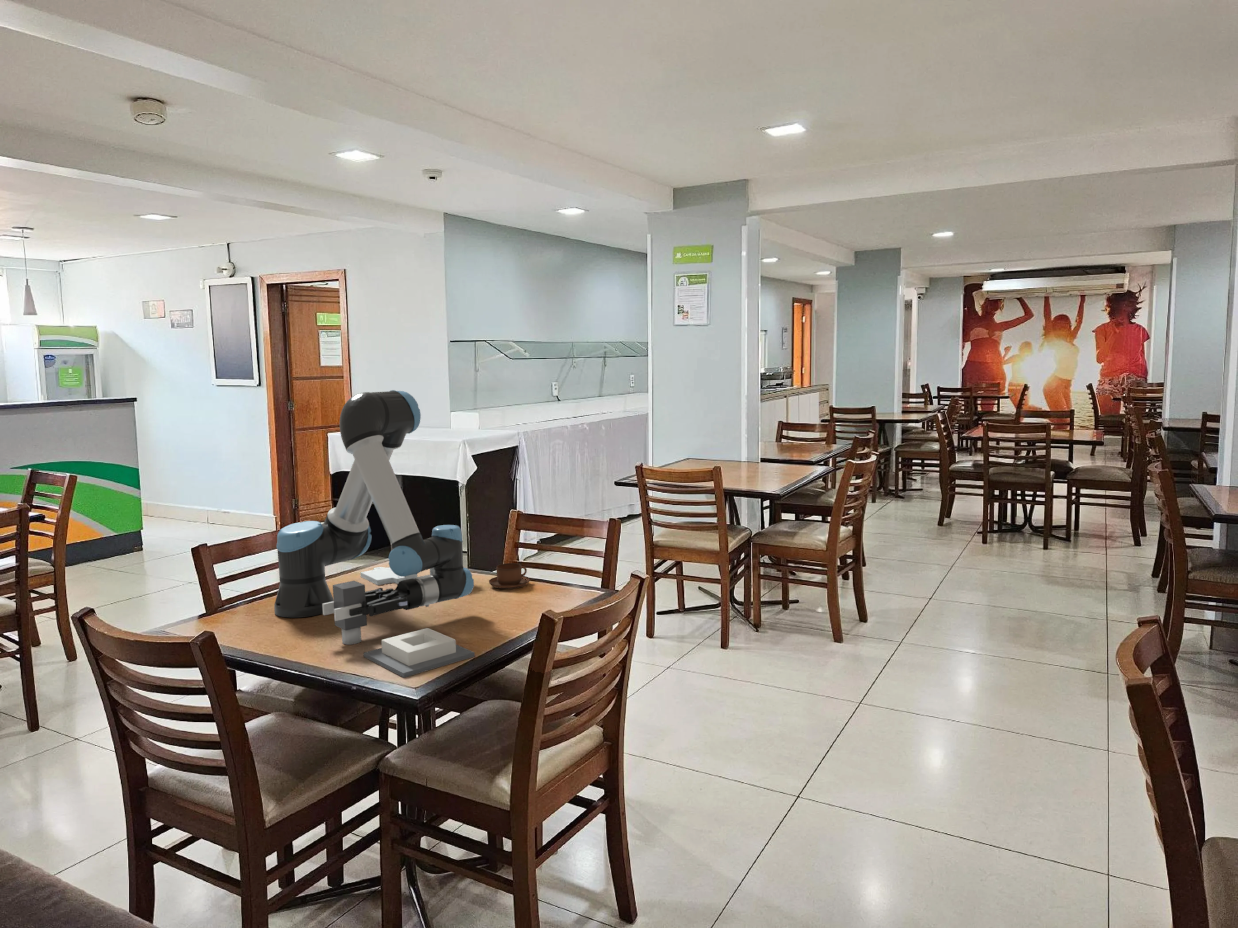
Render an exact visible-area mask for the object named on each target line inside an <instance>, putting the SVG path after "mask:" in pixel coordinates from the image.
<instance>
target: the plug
mask: <svg viewBox="0 0 1238 928" xmlns="http://www.w3.org/2000/svg"><path fill="white" fill-rule="evenodd" d="M365 592H366V585H365V584H364V583H362V582H358V581H356V580H350V581H347V582H346V581H345V582H341V583H336V584H332V597H333V601H334V609H337V608H341V607H346V606H350V605H355V604H359V603H360V604H361V605H362V606H363V603H362V601H366V597H365ZM367 616H368V615H363V614H362V615H360V616H355V617H351V618H347V619H343V620H338V621H335V620H334V626H336V627H337V628H340V629H341V642H342V644H343V645H348V646H349V645H356V644H359V643H360V642H361V643H362V627H365V626H368V617H367Z"/></svg>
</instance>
